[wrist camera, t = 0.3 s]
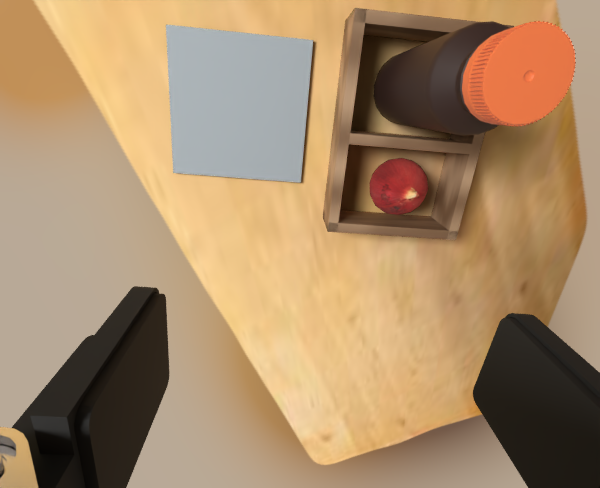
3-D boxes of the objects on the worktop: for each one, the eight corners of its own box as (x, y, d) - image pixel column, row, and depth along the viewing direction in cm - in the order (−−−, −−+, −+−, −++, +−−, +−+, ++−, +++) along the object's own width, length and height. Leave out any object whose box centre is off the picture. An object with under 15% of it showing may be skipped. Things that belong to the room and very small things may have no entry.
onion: (391, 213, 41) (414, 237, 34) (352, 186, 40) (368, 205, 33) (423, 172, 40) (455, 188, 32) (384, 143, 38) (408, 153, 31)
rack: (345, 20, 34) (355, 7, 29) (483, 36, 35) (514, 25, 30) (322, 217, 41) (327, 231, 37) (437, 224, 42) (455, 240, 38)
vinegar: (361, 76, 36) (443, 49, 17) (421, 38, 35) (579, -35, 16) (388, 135, 38) (487, 167, 20) (446, 101, 37) (608, 101, 18)
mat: (167, 25, 33) (166, 24, 33) (312, 40, 34) (313, 40, 34) (174, 171, 39) (173, 172, 38) (300, 181, 40) (300, 182, 39)
